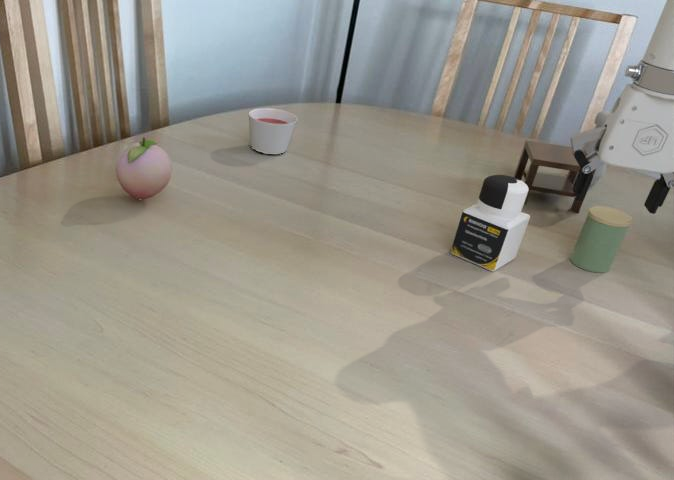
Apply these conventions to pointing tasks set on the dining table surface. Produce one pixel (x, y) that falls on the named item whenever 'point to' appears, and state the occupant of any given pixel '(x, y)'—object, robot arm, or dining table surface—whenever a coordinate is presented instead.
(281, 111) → the candle
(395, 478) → the dining table surface
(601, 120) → the salt shaker
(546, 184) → the stand
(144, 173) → the decorative fruit
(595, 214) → the tea tin
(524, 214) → the medicine bottle
